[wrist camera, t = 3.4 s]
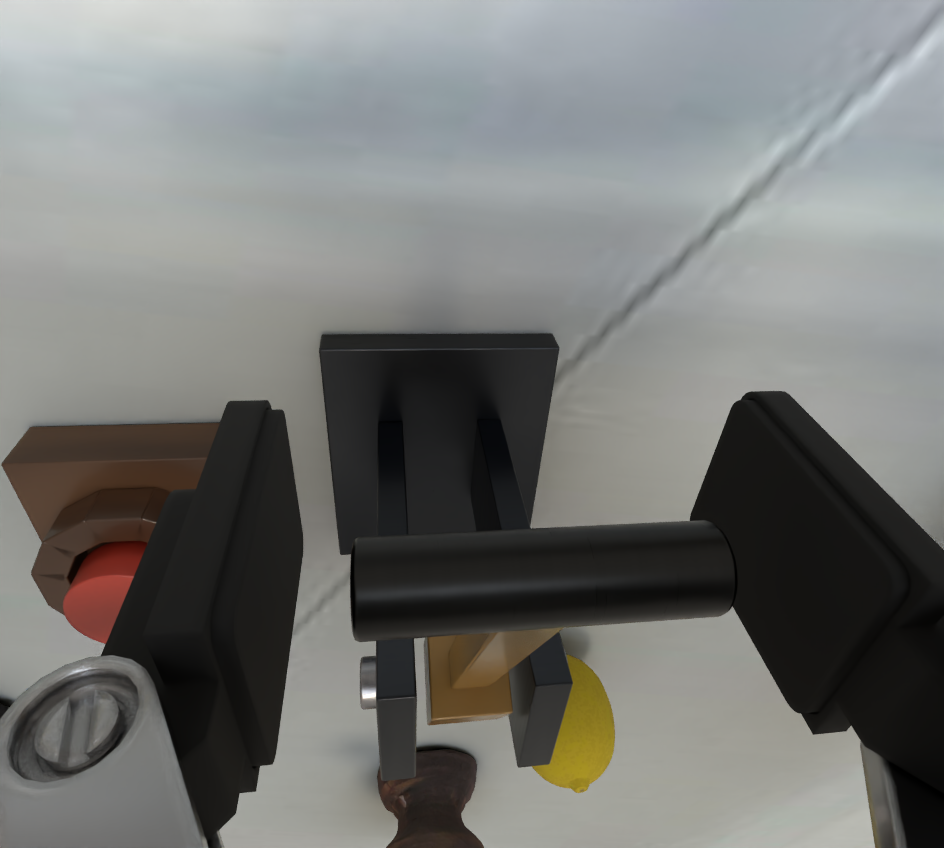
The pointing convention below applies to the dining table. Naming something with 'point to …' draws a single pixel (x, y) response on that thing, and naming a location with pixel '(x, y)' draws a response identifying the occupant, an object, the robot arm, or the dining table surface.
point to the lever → (527, 596)
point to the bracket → (441, 490)
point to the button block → (99, 488)
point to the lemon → (582, 733)
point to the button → (102, 588)
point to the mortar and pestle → (432, 801)
